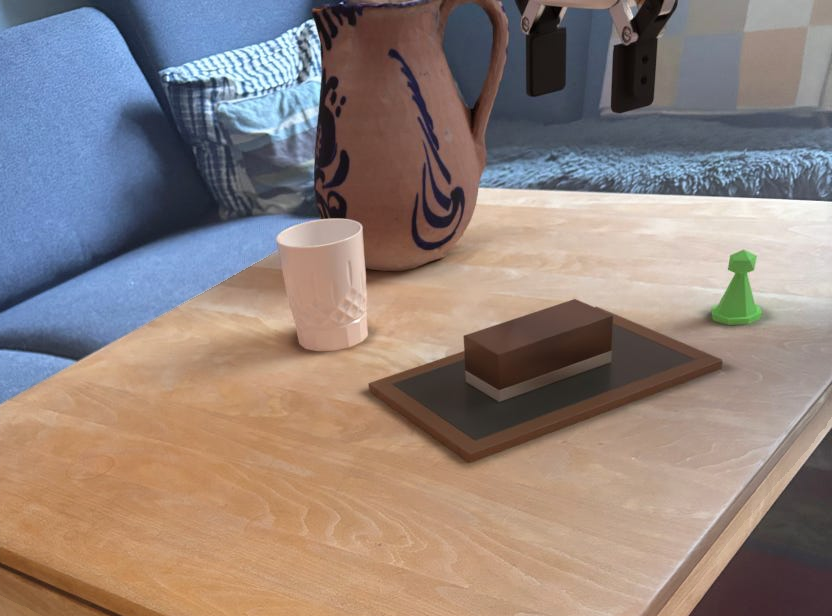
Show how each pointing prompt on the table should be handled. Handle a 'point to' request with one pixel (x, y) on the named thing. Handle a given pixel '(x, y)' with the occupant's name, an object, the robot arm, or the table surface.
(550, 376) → the eraser
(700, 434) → the table surface
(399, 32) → the ceramic pitcher
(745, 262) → the game piece
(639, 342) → the slate board
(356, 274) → the white cup
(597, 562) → the table surface
